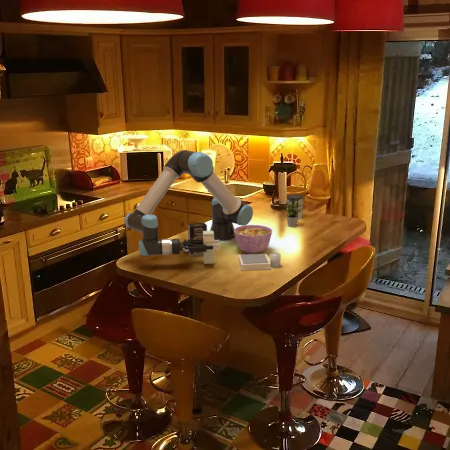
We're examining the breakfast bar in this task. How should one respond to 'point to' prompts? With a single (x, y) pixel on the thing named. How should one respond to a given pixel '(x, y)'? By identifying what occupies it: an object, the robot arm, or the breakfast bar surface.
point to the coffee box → (196, 234)
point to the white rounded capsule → (275, 260)
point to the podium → (254, 262)
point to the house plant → (292, 214)
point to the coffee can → (300, 200)
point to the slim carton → (208, 239)
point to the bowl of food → (253, 238)
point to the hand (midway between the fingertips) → (219, 244)
